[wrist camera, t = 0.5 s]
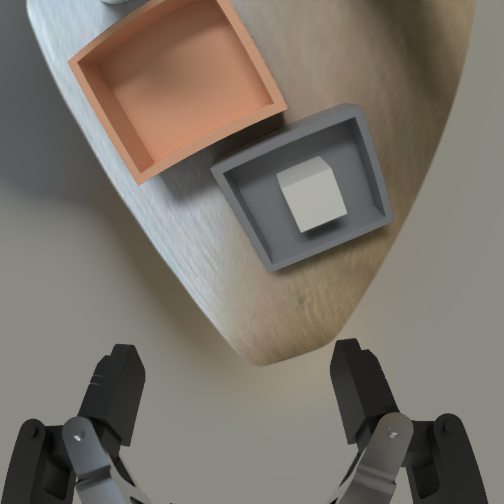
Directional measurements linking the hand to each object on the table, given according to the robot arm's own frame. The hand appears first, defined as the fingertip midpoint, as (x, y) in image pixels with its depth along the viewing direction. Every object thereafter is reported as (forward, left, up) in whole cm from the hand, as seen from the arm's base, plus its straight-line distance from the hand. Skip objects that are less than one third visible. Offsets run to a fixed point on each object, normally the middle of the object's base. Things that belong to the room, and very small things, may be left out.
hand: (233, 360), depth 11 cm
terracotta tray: (0, -13, -21) cm, 24 cm away
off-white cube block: (-6, +2, -20) cm, 21 cm away
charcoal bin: (-6, +2, -21) cm, 22 cm away
